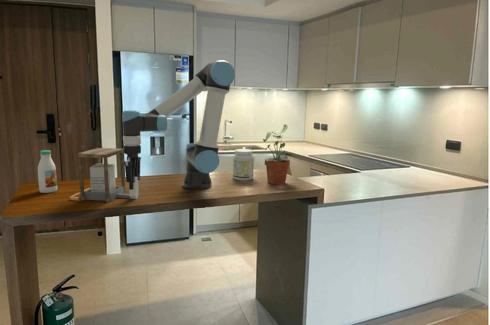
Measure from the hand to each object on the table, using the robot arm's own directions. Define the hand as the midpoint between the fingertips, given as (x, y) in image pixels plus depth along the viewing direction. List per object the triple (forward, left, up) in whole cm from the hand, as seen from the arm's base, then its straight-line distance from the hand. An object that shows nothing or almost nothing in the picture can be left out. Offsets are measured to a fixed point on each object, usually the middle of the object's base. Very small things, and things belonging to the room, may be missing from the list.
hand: (133, 194), depth 165 cm
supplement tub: (-45, -50, -2) cm, 67 cm away
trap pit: (+24, 0, -2) cm, 24 cm away
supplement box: (+15, 0, -2) cm, 15 cm away
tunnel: (+15, 0, -2) cm, 15 cm away
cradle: (+10, 0, -2) cm, 10 cm away
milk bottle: (+45, -3, -2) cm, 45 cm away
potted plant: (-64, -44, -2) cm, 78 cm away
